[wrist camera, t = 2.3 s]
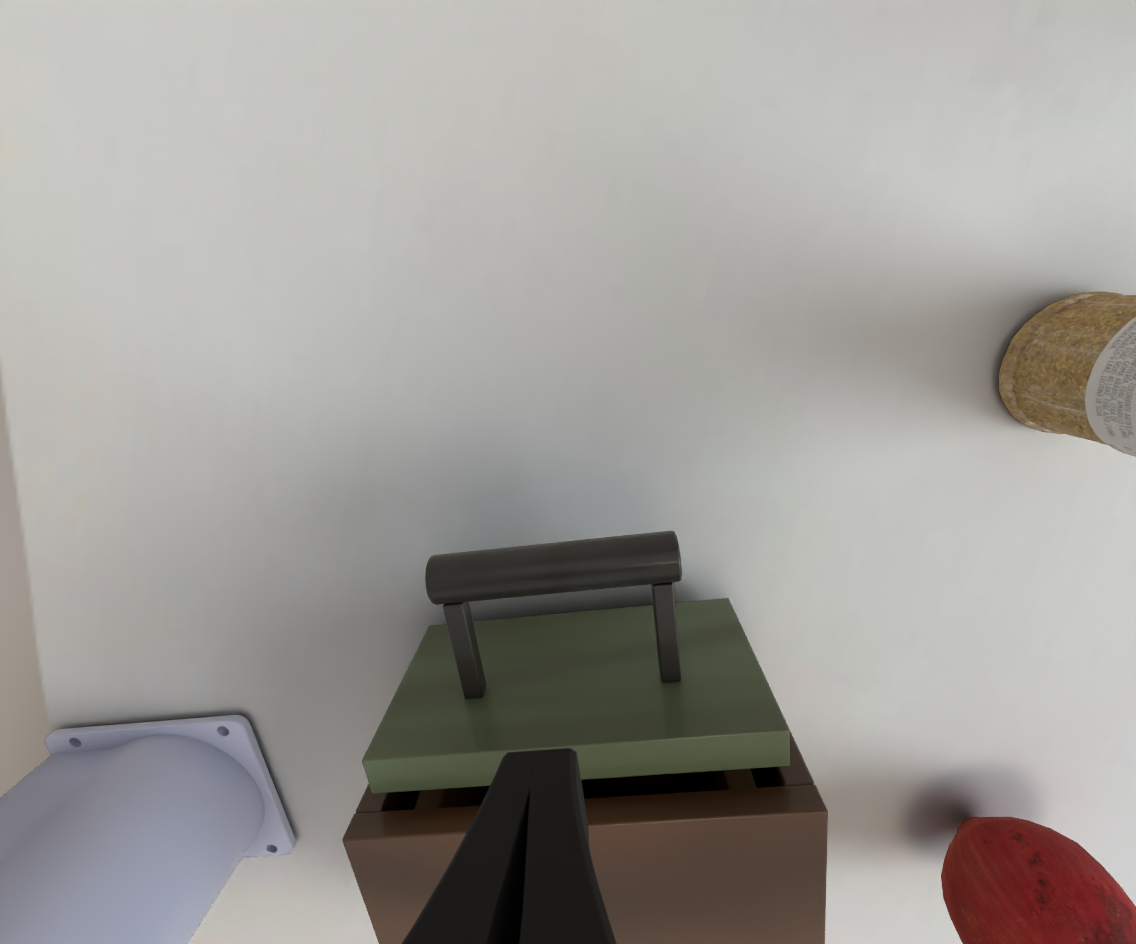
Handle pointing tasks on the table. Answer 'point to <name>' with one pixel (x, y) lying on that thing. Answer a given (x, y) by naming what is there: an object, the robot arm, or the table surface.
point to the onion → (1030, 887)
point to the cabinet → (636, 860)
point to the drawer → (577, 681)
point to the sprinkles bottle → (1076, 370)
